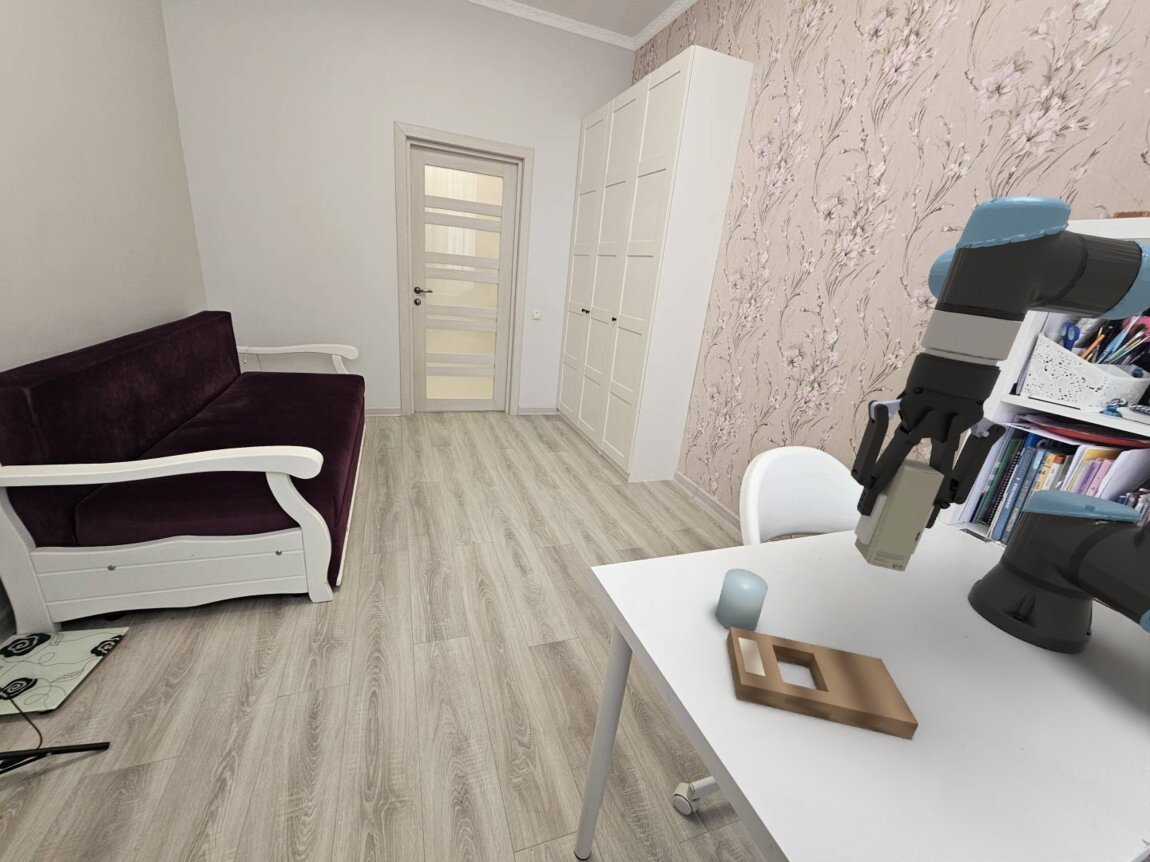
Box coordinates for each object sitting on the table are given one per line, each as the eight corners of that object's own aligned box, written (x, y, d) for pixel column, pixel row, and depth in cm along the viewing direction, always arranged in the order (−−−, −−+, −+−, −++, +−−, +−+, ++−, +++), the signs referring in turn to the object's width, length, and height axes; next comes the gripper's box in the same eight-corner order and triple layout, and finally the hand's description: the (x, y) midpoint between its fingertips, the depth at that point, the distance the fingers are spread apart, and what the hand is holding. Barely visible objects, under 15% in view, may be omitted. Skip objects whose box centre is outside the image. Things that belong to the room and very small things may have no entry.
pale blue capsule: (752, 610, 74) (762, 572, 72) (760, 637, 68) (772, 597, 66) (713, 603, 75) (722, 565, 73) (718, 629, 69) (728, 589, 67)
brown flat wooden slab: (875, 672, 65) (881, 658, 64) (911, 739, 55) (919, 723, 54) (726, 640, 67) (730, 626, 66) (736, 698, 58) (741, 683, 57)
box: (905, 574, 56) (948, 476, 52) (865, 564, 57) (906, 468, 53) (886, 550, 61) (925, 460, 57) (851, 542, 62) (886, 452, 58)
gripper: (1023, 365, 53) (942, 543, 61) (860, 339, 56) (802, 513, 63) (1077, 377, 46) (978, 577, 54) (888, 347, 49) (818, 542, 56)
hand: (883, 542), depth 58 cm, fingers closed on box, 4 cm apart
